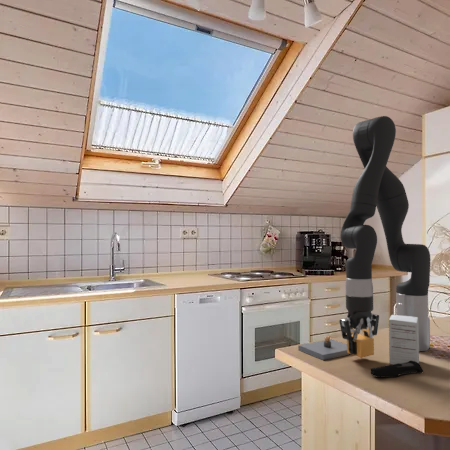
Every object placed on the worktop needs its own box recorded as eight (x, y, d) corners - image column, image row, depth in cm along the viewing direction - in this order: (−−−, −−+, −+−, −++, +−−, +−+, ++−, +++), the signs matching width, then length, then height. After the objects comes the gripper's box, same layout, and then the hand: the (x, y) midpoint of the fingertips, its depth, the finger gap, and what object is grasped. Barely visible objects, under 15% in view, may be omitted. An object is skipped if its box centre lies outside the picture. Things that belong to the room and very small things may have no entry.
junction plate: (331, 343, 126) (331, 330, 126) (357, 352, 116) (357, 338, 116) (298, 349, 119) (298, 335, 119) (322, 360, 110) (322, 344, 110)
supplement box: (391, 356, 113) (391, 314, 113) (419, 360, 109) (419, 316, 109) (388, 364, 106) (388, 319, 107) (418, 368, 103) (417, 322, 103)
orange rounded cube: (359, 349, 113) (359, 334, 113) (374, 354, 109) (373, 338, 109) (347, 352, 111) (346, 336, 111) (361, 357, 106) (360, 341, 106)
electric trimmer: (366, 377, 98) (366, 365, 98) (413, 369, 103) (412, 357, 103) (376, 382, 94) (376, 370, 94) (424, 374, 100) (424, 362, 100)
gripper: (366, 289, 116) (367, 345, 116) (331, 294, 110) (332, 352, 110) (387, 293, 110) (388, 351, 110) (351, 297, 103) (352, 360, 103)
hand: (360, 352), depth 110 cm, fingers closed on orange rounded cube, 5 cm apart
